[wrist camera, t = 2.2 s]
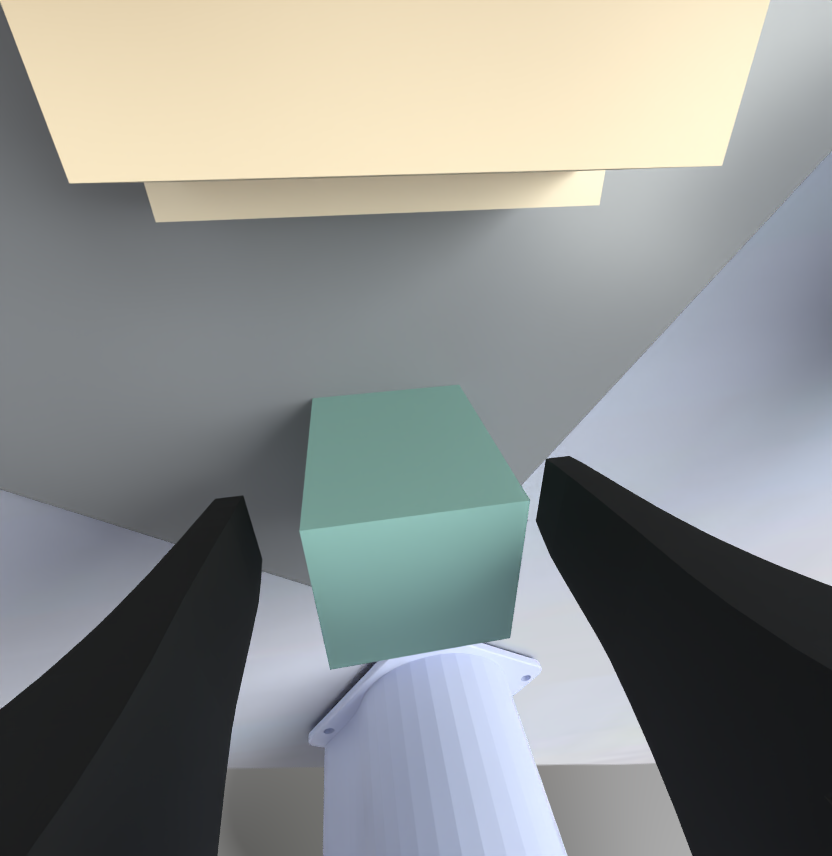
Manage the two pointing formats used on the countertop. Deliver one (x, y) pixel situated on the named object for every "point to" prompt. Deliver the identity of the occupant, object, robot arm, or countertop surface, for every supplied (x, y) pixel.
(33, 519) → the countertop surface
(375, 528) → the sage block
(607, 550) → the robot arm
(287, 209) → the maple slab lower
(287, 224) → the grey board
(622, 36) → the maple slab upper
